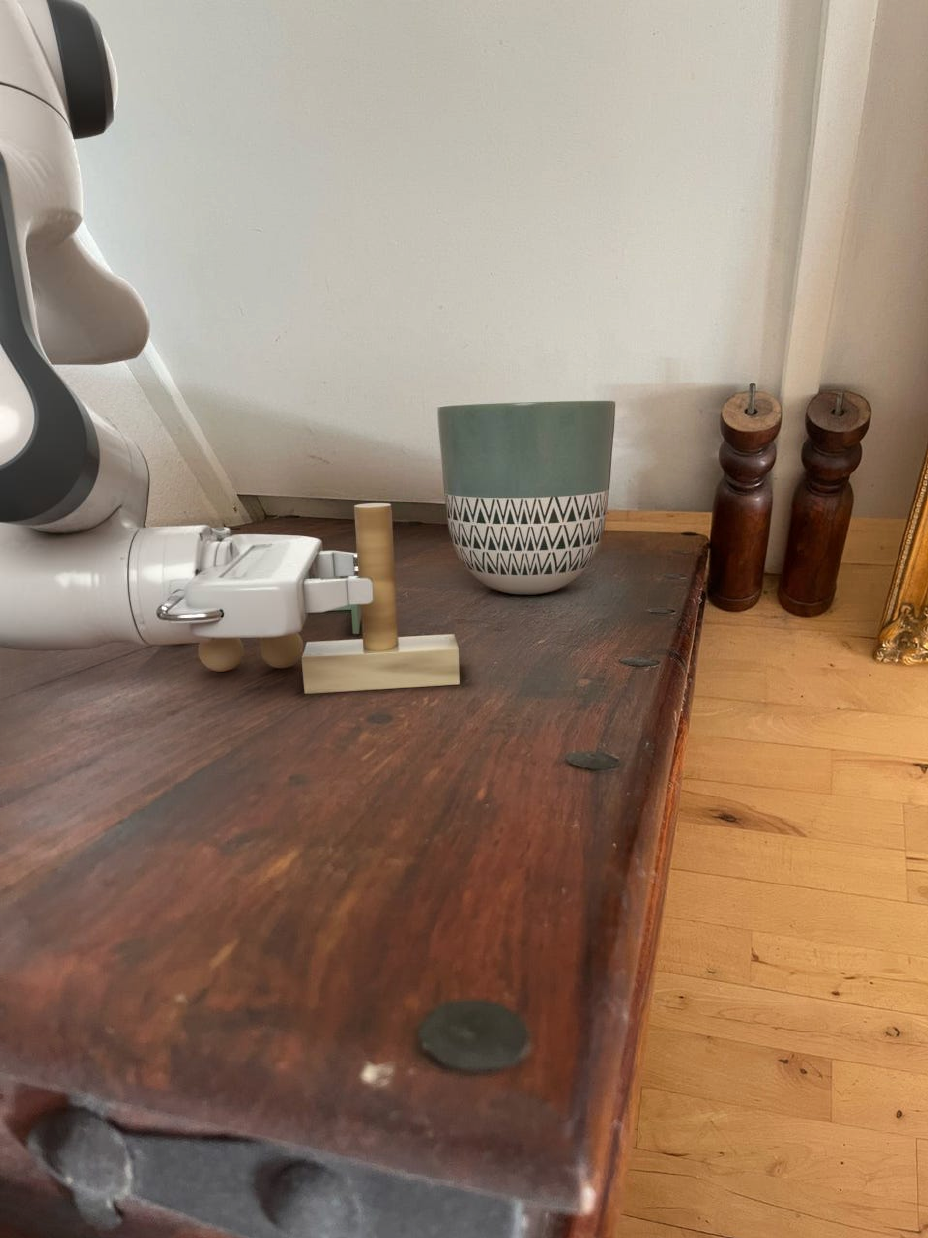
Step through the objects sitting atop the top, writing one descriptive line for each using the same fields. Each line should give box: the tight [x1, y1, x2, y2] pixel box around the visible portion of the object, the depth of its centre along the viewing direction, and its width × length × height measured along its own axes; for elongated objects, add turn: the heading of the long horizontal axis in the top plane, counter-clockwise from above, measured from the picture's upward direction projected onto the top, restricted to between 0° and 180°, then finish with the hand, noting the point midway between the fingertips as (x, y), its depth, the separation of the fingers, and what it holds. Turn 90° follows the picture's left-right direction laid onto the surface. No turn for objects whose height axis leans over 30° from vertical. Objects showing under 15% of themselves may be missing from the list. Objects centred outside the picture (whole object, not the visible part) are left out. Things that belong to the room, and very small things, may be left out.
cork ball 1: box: [197, 638, 244, 673], centre depth 63 cm, size 4×4×4 cm
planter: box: [436, 400, 616, 596], centre depth 86 cm, size 20×20×21 cm
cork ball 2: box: [259, 633, 304, 669], centre depth 63 cm, size 4×4×4 cm
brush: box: [300, 502, 461, 695], centre depth 58 cm, size 4×12×14 cm, turn 96°
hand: (374, 575), depth 57 cm, fingers open, 8 cm apart
